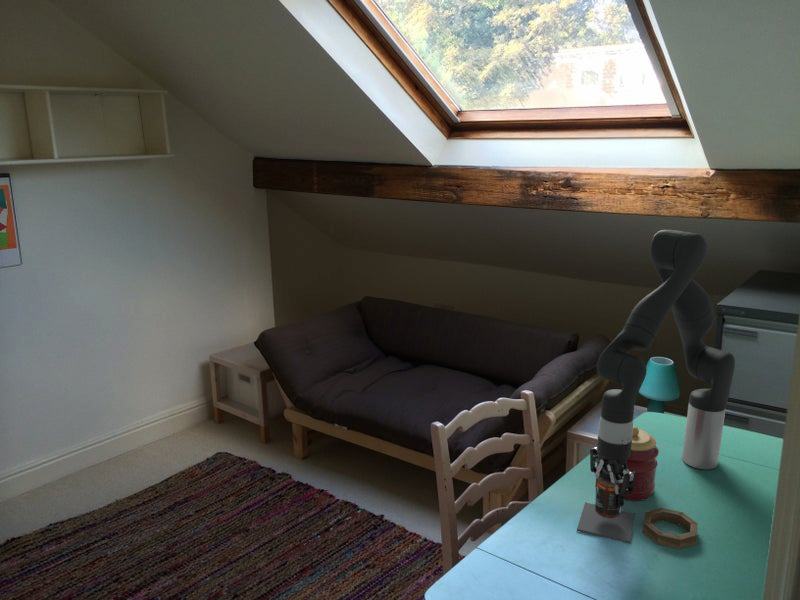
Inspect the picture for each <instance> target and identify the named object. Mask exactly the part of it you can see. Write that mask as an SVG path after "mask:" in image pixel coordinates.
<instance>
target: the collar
mask: <svg viewBox="0 0 800 600" xmlns="http://www.w3.org/2000/svg"><path fill="white" fill-rule="evenodd" d="M659 522H667V523H671V524H676V525H679V526H680V527H681V528H683V529H684V530H686V531H687V532H685V533H684V532H683V533H682V534H674V533H669V532H664V531H661V530H660V529H659V528H658V527H656V526H655V525H654V524H655V523H659ZM698 525H699V523H698V522H697V521H695V520H694V519H693V518H692V517H690V516H689V515H687V514H686V513H684V512H683V511H678V510H675V509H674V510H673V509H671V508H670V509H669V508H665V507H660V508H659V507H658V508H655V509H651V510H647V511H645V512H644V518H643V524H642V533H643V534H644V535H645V536H647V538H649V539H650V540H651V541H652V542H653V543H655V544H656V545H659V546H663V547H667V548H668V547H669V548H672V549H678V550H681V549H682V550H683V549H685V548H689V547H692V546H694V545H695V546H696V545H697V542H698V541H697V540H698V532H699V531H698V529H699V527H698Z"/></svg>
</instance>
